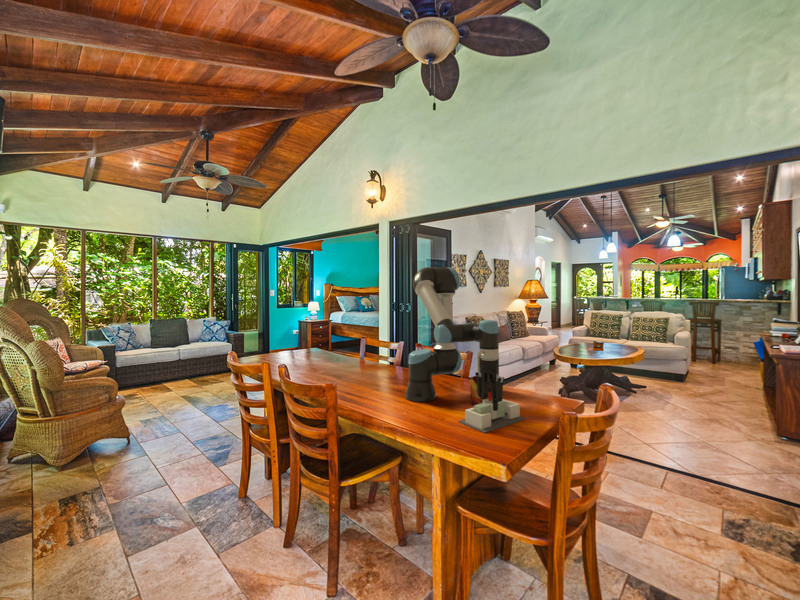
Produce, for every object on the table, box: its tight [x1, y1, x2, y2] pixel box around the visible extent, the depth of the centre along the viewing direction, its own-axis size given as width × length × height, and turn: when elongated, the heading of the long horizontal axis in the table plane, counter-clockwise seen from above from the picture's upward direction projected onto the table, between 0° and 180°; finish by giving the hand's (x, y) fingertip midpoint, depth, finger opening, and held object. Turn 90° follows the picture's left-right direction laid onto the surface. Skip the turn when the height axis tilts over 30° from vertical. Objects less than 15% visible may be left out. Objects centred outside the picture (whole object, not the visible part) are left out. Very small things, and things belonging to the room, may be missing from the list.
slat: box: [473, 401, 505, 420], centre depth 144 cm, size 4×14×6 cm, turn 124°
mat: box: [457, 413, 526, 434], centre depth 145 cm, size 14×24×1 cm, turn 124°
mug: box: [469, 375, 492, 407], centre depth 164 cm, size 10×14×12 cm
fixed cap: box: [464, 407, 491, 429], centre depth 140 cm, size 9×5×5 cm, turn 34°
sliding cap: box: [502, 398, 521, 419], centre depth 150 cm, size 9×6×5 cm
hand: (489, 416), depth 144 cm, fingers closed on slat, 3 cm apart
